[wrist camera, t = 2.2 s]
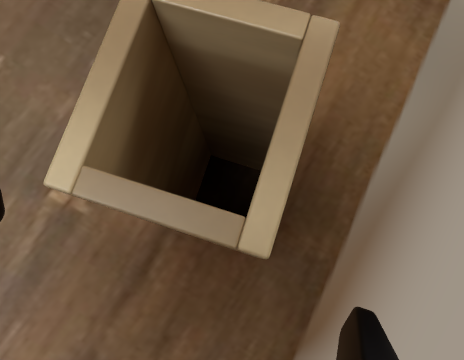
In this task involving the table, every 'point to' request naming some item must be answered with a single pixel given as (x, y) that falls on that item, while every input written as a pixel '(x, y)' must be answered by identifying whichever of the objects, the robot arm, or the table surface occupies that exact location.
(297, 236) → the table surface
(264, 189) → the square pencil holder
